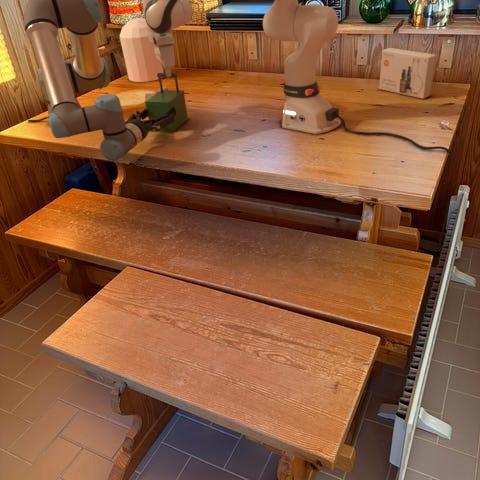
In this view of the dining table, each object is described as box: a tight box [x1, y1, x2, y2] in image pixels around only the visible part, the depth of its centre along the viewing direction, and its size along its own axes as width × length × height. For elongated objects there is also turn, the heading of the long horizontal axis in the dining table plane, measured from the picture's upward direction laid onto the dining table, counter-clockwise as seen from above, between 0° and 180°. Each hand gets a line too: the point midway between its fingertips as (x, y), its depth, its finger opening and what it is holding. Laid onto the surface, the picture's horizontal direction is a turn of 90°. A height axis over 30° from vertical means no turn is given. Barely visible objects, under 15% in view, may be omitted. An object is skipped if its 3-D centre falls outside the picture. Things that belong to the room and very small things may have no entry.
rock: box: [144, 85, 169, 101], centre depth 206 cm, size 11×6×10 cm
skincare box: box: [378, 47, 437, 100], centre depth 184 cm, size 21×6×16 cm, turn 40°
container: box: [119, 17, 165, 83], centre depth 235 cm, size 21×21×28 cm
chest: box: [145, 93, 189, 133], centre depth 178 cm, size 13×10×10 cm
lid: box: [144, 72, 185, 105], centre depth 173 cm, size 14×10×8 cm
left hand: (162, 110), depth 174 cm, fingers closed on chest, 10 cm apart
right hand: (167, 74), depth 174 cm, fingers open, 4 cm apart
